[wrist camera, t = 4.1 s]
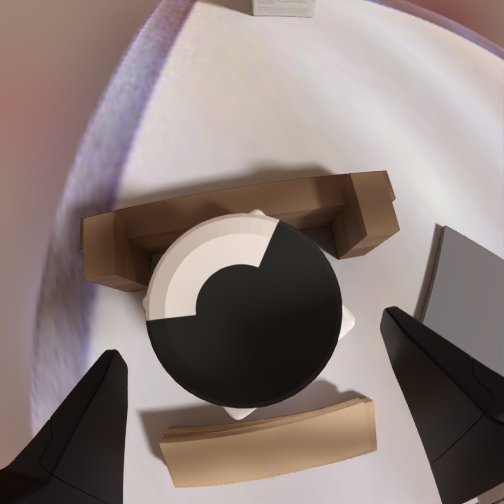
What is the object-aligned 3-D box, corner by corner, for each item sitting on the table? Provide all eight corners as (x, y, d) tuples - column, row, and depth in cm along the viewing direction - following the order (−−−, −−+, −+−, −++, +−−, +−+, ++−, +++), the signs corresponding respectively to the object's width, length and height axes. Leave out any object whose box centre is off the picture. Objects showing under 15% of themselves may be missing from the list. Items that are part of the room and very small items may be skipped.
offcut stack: (371, 444, 17) (383, 456, 15) (179, 473, 17) (171, 488, 15) (366, 389, 18) (379, 397, 16) (166, 420, 18) (156, 431, 16)
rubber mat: (496, 402, 17) (500, 403, 17) (400, 375, 19) (404, 376, 18) (526, 278, 20) (530, 277, 19) (442, 227, 21) (445, 225, 20)
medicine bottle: (326, 323, 20) (412, 319, 8) (243, 391, 19) (225, 474, 7) (257, 243, 21) (257, 146, 9) (176, 309, 20) (80, 288, 8)
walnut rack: (382, 252, 21) (421, 226, 15) (109, 294, 20) (63, 282, 14) (367, 194, 22) (397, 155, 16) (106, 235, 21) (64, 207, 15)
